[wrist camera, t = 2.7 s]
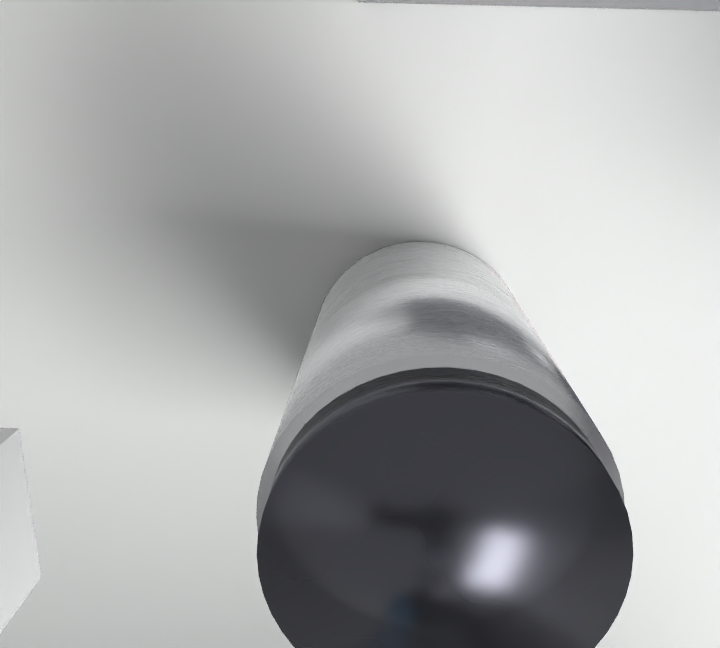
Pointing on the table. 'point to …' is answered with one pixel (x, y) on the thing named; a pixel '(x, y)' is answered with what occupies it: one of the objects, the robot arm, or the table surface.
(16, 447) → the robot arm
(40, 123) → the table surface
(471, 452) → the lens
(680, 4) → the camera body
